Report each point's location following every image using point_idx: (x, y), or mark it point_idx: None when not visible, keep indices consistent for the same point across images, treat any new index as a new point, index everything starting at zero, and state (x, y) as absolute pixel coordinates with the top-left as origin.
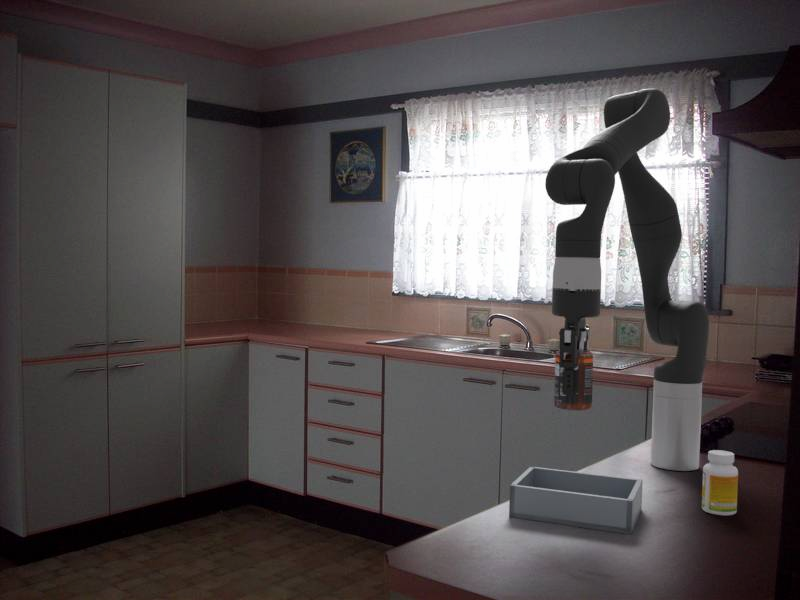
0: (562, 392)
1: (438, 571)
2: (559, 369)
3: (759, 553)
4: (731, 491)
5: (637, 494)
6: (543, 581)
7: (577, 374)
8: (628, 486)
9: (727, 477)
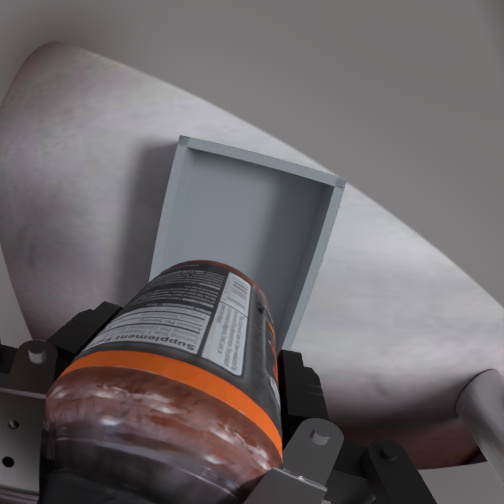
0: (104, 302)
1: (13, 99)
2: (94, 339)
3: None
4: None
5: None
6: (7, 201)
7: None
8: (278, 349)
9: None
